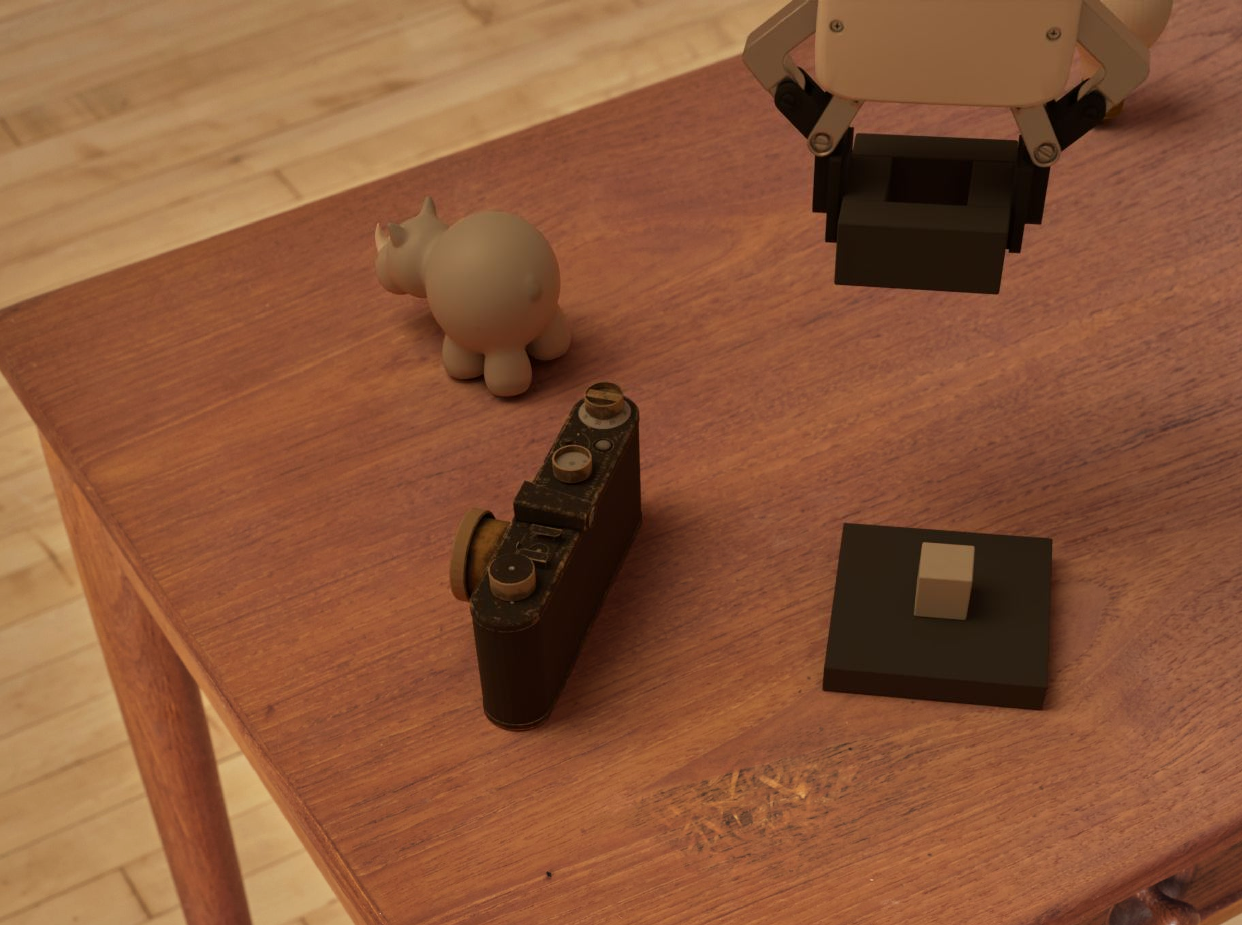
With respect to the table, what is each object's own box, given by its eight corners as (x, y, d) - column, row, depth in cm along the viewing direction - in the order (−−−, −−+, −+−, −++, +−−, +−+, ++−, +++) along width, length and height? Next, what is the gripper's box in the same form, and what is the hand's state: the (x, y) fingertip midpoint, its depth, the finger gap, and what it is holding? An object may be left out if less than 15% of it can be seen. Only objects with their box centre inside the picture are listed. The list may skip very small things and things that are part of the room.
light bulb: (1049, 146, 110) (1078, -22, 101) (1047, 94, 113) (1074, -72, 105) (1150, 147, 109) (1186, -21, 101) (1144, 95, 112) (1179, -72, 104)
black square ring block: (1009, 202, 81) (1018, 139, 78) (998, 295, 77) (1008, 232, 74) (851, 194, 82) (856, 132, 80) (833, 285, 78) (837, 222, 76)
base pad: (1047, 561, 88) (1061, 497, 85) (1042, 710, 82) (1056, 647, 79) (841, 545, 90) (847, 481, 87) (822, 690, 84) (827, 628, 81)
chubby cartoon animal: (432, 279, 105) (414, 142, 99) (592, 351, 100) (585, 211, 94) (348, 342, 102) (323, 204, 96) (509, 419, 97) (495, 279, 90)
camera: (536, 486, 94) (525, 356, 87) (659, 509, 92) (656, 378, 86) (416, 710, 85) (394, 583, 79) (549, 740, 83) (537, 612, 77)
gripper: (1224, -261, 65) (1132, 192, 80) (745, -264, 68) (739, 173, 83) (1226, -168, 61) (1127, 294, 75) (715, -175, 64) (713, 269, 78)
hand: (924, 227), depth 79 cm, fingers closed on black square ring block, 7 cm apart
